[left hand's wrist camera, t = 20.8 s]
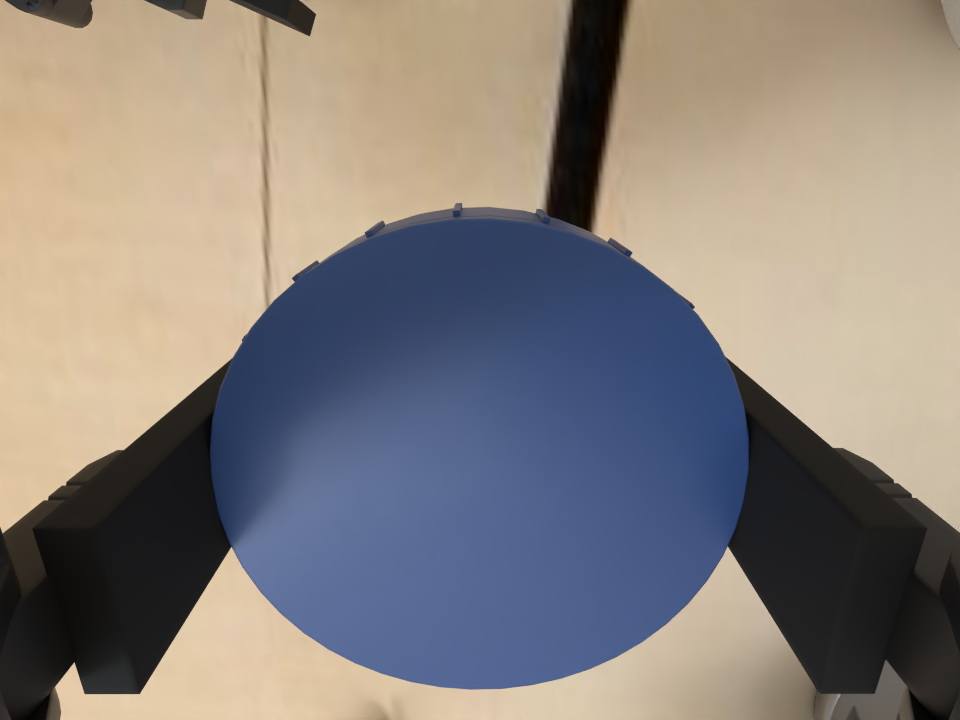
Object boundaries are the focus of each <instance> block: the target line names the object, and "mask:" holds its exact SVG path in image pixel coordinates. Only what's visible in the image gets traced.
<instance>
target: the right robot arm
mask: <svg viewBox="0 0 960 720" xmlns="http://www.w3.org/2000/svg"><path fill="white" fill-rule="evenodd" d="M5 1H7V2H8V3H10V4H11V5H13V6H14V7H16V8H17V9H19V10H22V11H24V12H27V13H30V14H33V15H36V16H39V17H42V18H46V19H49V20H52V21H55V22H58V23H62V24H65V25H68V26H71V27H75V28H83V27H85V26H87V25H88V24H89V23H90V21H91V20H92V14H93V12H92V6H91V4H90V3H91V2H92V0H5ZM145 1H147V2H149V3H152V4H154V5H156V6H159V7H161V8H163V9H165V10H168V11H170V12H172V13H174V14H177V15H179V16H181V17H183V18H186V19H203V15H204V10H205V6H206V1H207V0H145ZM230 1H232V2H235V3H237V4H239V5H241V6H244V7H246V8H248V9H250V10H252V11H255V12H257V13H259V14H261V15H264V16H266V17H268V18H270V19H272V20H275V21H277V22H279V23H281V24H284V25H286V26H288V27H290V28H292V29H295V30H297V31H299V32H301V33H304V34H306V35H308V36H310V34H311V30H312V27H313V23H314V19H315V16H316V14H315V13H314V12H313V11H312V10H310V9H309V8H308V7H307V6H306V5H304V4H303V3H302V2H301V1H300V0H230Z"/></svg>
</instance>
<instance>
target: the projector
mask: <svg viewBox="0 0 960 720" xmlns="http://www.w3.org/2000/svg"><path fill="white" fill-rule="evenodd" d="M941 3H942V7H943V11H944V15H945V19H946V22H947V26H948V28H949V30H950V32H951V35H952V37H953V39H954V41H955V42H956V44H957V45H958V47H959V49H960V0H941Z"/></svg>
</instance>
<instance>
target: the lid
mask: <svg viewBox="0 0 960 720" xmlns="http://www.w3.org/2000/svg"><path fill="white" fill-rule="evenodd" d="M631 254H632V252H631V251H630V250H628V249H627V248H625V247H624V246H622V245H621V244H619V243H618V242H617V241H615V240H613V239H612V238H610V239H609V241H608V242H607V241H605V240H603V239H601V238H600V237H598V236H596V235H594V234H593V233H591V232H589V231H586V230H584V229H581V228H579V227H576V226H574V225H571V224H569V223H566V222H564V221H561V220H559V219H555V218H551V217H549V216H548V215H547V214H546V213H545V212H544V211H543V210H540V209H537V210H536V214H535V213H531V212H527V211H521V210H511V209H502V208H492V207H479V208H462V203H456V205H455V207H454V208H453V209H447V210H441V211H435V212H429V213H423V214H418V215H415V216H412V217H409V218H405V219H402V220H399V221H396V222H393V223H389V224H386V225H385V224H384V221H381V222H379V223H377V224H376V225H375V226H373V227H372V228H370V229H369V230H368V231H366V232H365V235H363V236H361V237H359V238H357V239H355V240H354V241H352V242H351V243H349V244H347V245H346V246H344V247H343V248H341V249H340V250H338V251H337V252H335V253H334V254H332V255H331V256H329V257H328V258H326V259H325V260H324V261H322V262H321V263H319V262H318V261H315V262H314V263H312V264H311V265H309V266H308V267H307V268H305V269H304V270H302V271H301V272H299V273H298V274H296V275H295V276H294V277H293V278H292V279H293V280H294V281H295V283H294V284H292V285H291V286H290V287H289V288H288V289H287V290H286V291H284V292H283V293H282V294H281V295H280V296H279V297H278V298H277V299H275V300H274V301H273V303H272V304H271V305H270V306H269V307H268V308H267V310H266V311H265V312H264V313H263V314H262V316H261V317H260V318H259V319H258V320H257V322H256V323H255V324H254V325H253V326H252V328H251V329H250V331H249V332H248V334H246V335H245V336H244V338H243V339H242V341H243V342H242V344H241V345H240V347H239V349H238V350H237V352H236V353H235V355H234V357H233V359H232V361H231V363H230V366H229V368H228V371H227V373H226V375H225V378H224V380H223V383H222V385H221V387H220V391H219V395H218V399H217V403H216V407H215V411H214V415H213V419H212V429H211V441H210V466H211V475H212V482H213V487H214V493H215V498H216V503H217V508H218V513H219V517H220V519H221V522H222V525H223V527H224V530H225V533H226V535H227V538H228V541H229V543H230V545H231V547H232V548H233V550H234V552H235V554H236V556H237V558H238V559H239V561H240V563H241V565H242V567H243V568H244V570H245V571H246V573H247V574H248V575H249V577H250V578H251V579H252V581H253V582H254V584H255V585H256V586H257V588H258V589H259V590H260V592H261V593H262V594H263V595H264V596H265V597H266V598H267V599H268V600H269V601H270V603H271V604H272V605H273V606H274V607H275V608H276V609H277V610H278V611H279V612H280V613H281V614H282V615H283V616H284V617H285V618H287V619H288V620H289V621H290V622H291V623H293V624H294V625H295V626H296V627H297V628H299V629H300V630H301V631H302V632H303V633H305V634H306V635H308V636H309V637H311V638H312V639H314V640H315V641H317V642H318V643H320V644H321V645H323V646H324V647H326V648H327V649H329V650H331V651H333V652H335V653H337V654H339V655H340V656H342V657H344V658H346V659H348V660H350V661H352V662H354V663H356V664H359V665H361V666H364V667H366V668H369V669H371V670H374V671H377V672H379V673H382V674H385V675H388V676H392V677H396V678H399V679H403V680H406V681H410V682H414V683H420V684H426V685H432V686H437V687H446V688H459V689H504V688H512V687H520V686H528V685H534V684H539V683H543V682H548V681H552V680H557V679H561V678H564V677H567V676H570V675H573V674H576V673H579V672H582V671H585V670H588V669H591V668H593V667H595V666H597V665H600V664H602V663H604V662H606V661H609V660H611V659H613V658H615V657H617V656H619V655H621V654H622V653H624V652H626V651H628V650H629V649H631V648H633V647H634V646H636V645H638V644H640V643H641V642H643V641H644V640H646V639H647V638H648V637H650V636H651V635H652V634H654V633H655V632H656V631H658V630H659V629H660V628H662V627H663V626H664V625H666V624H667V623H668V622H669V621H670V620H671V619H672V618H673V617H674V616H675V615H677V614H678V613H679V612H680V611H681V610H682V609H683V608H684V607H685V606H686V605H687V604H688V603H689V602H690V601H691V600H692V598H693V597H694V596H695V595H696V594H697V592H698V591H699V590H700V589H701V588H702V586H703V585H704V584H705V583H706V582H707V580H708V579H709V577H710V575H711V574H712V572H713V571H714V569H715V568H716V566H717V564H718V563H719V561H720V560H721V558H722V557H723V555H724V553H725V551H726V548H727V546H728V544H729V542H730V540H731V538H732V535H733V533H734V531H735V529H736V526H737V523H738V519H739V516H740V513H741V509H742V504H743V500H744V494H745V488H746V483H747V477H748V471H749V435H748V428H747V422H746V416H745V409H744V404H743V401H742V398H741V395H740V392H739V389H738V386H737V382H736V379H735V376H734V374H733V372H732V370H731V368H730V366H729V364H728V362H727V360H726V358H725V356H724V354H723V352H722V350H721V348H720V346H719V344H718V342H717V341H716V339H715V338H714V337H713V335H712V334H711V332H710V331H709V330H708V328H707V327H706V325H705V324H704V323H703V321H702V320H701V318H700V317H699V316H698V314H697V313H696V312H695V311H694V310H693V309H694V308H695V307H694V306H693V304H692V303H691V302H689V301H688V300H686V299H685V298H684V297H682V296H681V295H680V294H678V293H677V292H676V291H674V290H673V289H672V288H671V287H670V286H668V285H667V284H666V283H665V282H663V281H662V280H661V279H659V278H658V277H657V276H655V275H654V274H653V273H652V272H650V271H649V270H648V269H646V268H645V267H644V266H642V265H641V264H640V263H638V262H637V261H636V260H634V259H633V258H631V257H630V256H631Z"/></svg>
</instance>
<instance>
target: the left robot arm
mask: <svg viewBox="0 0 960 720" xmlns="http://www.w3.org/2000/svg"><path fill="white" fill-rule="evenodd" d="M725 358H726V357H725ZM232 359H233V358H232ZM232 359H231V360H230V361H229V362H227V363H226V364H225V365H224V366H223V367H221V368H220V369H219V370H218V371H217V372H216V373H214V374H213V375H212V376H211V377H210V378H209V379H207V380H206V381H205V382H204V383H203V384H201V385H200V386H199V387H198V388H197V389H196V390H194V391H193V392H192V393H191V394H190V395H188V396H187V397H186V398H185V399H184V400H183V401H181V402H180V403H179V404H178V405H177V406H176V407H174V408H173V409H172V410H171V411H170V412H168V413H167V414H166V415H165V416H164V417H163V418H161V419H160V420H159V421H158V422H157V423H156V424H154V425H153V426H152V427H151V428H150V429H148V430H147V431H146V432H145V433H144V434H143V435H141V436H140V437H139V438H138V439H137V440H135V441H134V442H133V443H132V444H131V445H130V446H128V447H127V448H126V449H125V450H117V451H115V452H113V453H111V454H109V455H107V456H105V457H103V458H101V459H99V460H97V461H95V462H93V463H91V464H89V465H87V466H86V467H85V468H83V469H82V470H81V471H80V472H78V473H77V474H76V475H75V476H73V477H72V478H71V479H70V480H69V481H67V482H66V483H67V484H66V486H61V487H60V488H59V489H57V490H56V491H55V492H54V493H52V494H51V495H50V496H49V499H48V500H44V501H43V502H41V503H40V504H39V505H38V506H36V507H35V508H34V509H33V510H31V511H30V512H29V513H28V514H26V515H25V516H24V517H23V518H22V519H20V520H19V521H18V522H17V523H15V524H14V525H13V526H12V527H10V528H9V529H8V530H7V531H5V532H4V533H3V534H2V531H1V528H0V720H60V716H61V709H60V702H59V698H58V695H57V692H56V689H55V686H56V685H57V683H58V682H59V681H60V680H61V678H62V677H63V676H64V675H65V673H66V672H67V671H68V670H69V668H70V667H71V666H72V664H73V663H74V662H75V665H76V668H77V671H78V674H79V677H80V681H81V684H82V687H83V690H84V693H85V694H140V693H141V691H142V689H143V688H144V686H145V685H146V683H147V681H148V680H149V678H150V677H151V675H152V673H153V672H154V670H155V669H156V667H157V665H158V664H159V662H160V661H161V659H162V657H163V656H164V654H165V653H166V651H167V649H168V648H169V646H170V645H171V643H172V641H173V640H174V638H175V636H176V635H177V633H178V632H179V630H180V628H181V627H182V625H183V624H184V622H185V620H186V619H187V617H188V616H189V614H190V612H191V611H192V609H193V608H194V606H195V604H196V603H197V601H198V600H199V598H200V596H201V595H202V593H203V592H204V590H205V588H206V587H207V585H208V584H209V582H210V580H211V579H212V577H213V575H214V574H215V572H216V571H217V569H218V567H219V566H220V564H221V563H222V561H223V559H224V558H225V556H226V555H227V553H228V551H229V550H230V548H231V545H230V543H229V541H228V538H227V535H226V533H225V530H224V527H223V525H222V522H221V519H220V517H219V513H218V508H217V503H216V498H215V493H214V487H213V482H212V475H211V466H210V441H211V429H212V419H213V415H214V411H215V407H216V403H217V399H218V395H219V391H220V387H221V385H222V383H223V380H224V378H225V375H226V373H227V371H228V368H229V366H230V363H231V361H232ZM726 360H727V362H728V364H729V366H730V368H731V370H732V372H733V374H734V376H735V379H736V382H737V386H738V389H739V392H740V395H741V398H742V401H743V404H744V409H745V416H746V422H747V428H748V435H749V471H748V477H747V483H746V488H745V494H744V500H743V504H742V509H741V513H740V516H739V519H738V523H737V526H736V529H735V531H734V533H733V535H732V538H731V540H730V542H729V544H728V547H729V549H730V550H731V552H732V554H733V555H734V557H735V558H736V560H737V562H738V563H739V565H740V566H741V568H742V570H743V571H744V573H745V575H746V576H747V578H748V579H749V581H750V583H751V584H752V586H753V587H754V589H755V591H756V592H757V594H758V595H759V597H760V599H761V600H762V602H763V603H764V605H765V607H766V608H767V610H768V611H769V613H770V615H771V616H772V618H773V619H774V621H775V623H776V624H777V626H778V627H779V629H780V631H781V632H782V634H783V636H784V637H785V639H786V640H787V642H788V644H789V645H790V647H791V648H792V650H793V652H794V653H795V655H796V656H797V658H798V660H799V661H800V663H801V664H802V666H803V668H804V669H805V671H806V672H807V674H808V676H809V677H810V679H811V680H812V682H813V684H814V685H815V687H816V689H817V690H818V691H817V694H816V699H815V720H960V533H959V532H958V531H957V530H956V529H954V528H953V527H952V526H951V525H949V524H948V523H947V522H946V521H944V520H943V519H942V518H941V517H939V516H938V515H937V514H936V513H934V512H933V511H932V510H931V509H929V508H928V507H927V506H926V505H924V504H923V503H922V502H921V501H919V500H918V499H917V498H912V494H911V493H909V492H908V491H907V490H906V489H904V488H903V487H902V486H901V485H899V484H898V483H894V480H893V479H892V478H891V477H889V476H888V475H887V474H886V473H884V472H883V471H882V470H881V469H879V468H878V467H877V466H876V465H874V464H873V463H872V462H870V461H868V460H866V459H864V458H862V457H860V456H857V455H855V454H853V453H851V452H849V451H847V450H845V449H843V448H832V447H831V446H830V445H829V444H828V443H826V442H825V441H824V440H823V439H822V438H821V437H819V436H818V435H817V434H816V433H815V432H813V431H812V430H811V429H810V428H809V427H808V426H806V425H805V424H804V423H803V422H802V421H801V420H799V419H798V418H797V417H796V416H795V415H793V414H792V413H791V412H790V411H789V410H788V409H786V408H785V407H784V406H783V405H782V404H781V403H779V402H778V401H777V400H776V399H775V398H773V397H772V396H771V395H770V394H769V393H768V392H766V391H765V390H764V389H763V388H762V387H760V386H759V385H758V384H757V383H756V382H755V381H753V380H752V379H751V378H750V377H749V376H748V375H746V374H745V373H744V372H743V371H742V370H740V369H739V368H738V367H737V366H736V365H735V364H733V363H732V362H731V361H730V360H729V359H728V358H726Z"/></svg>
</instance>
